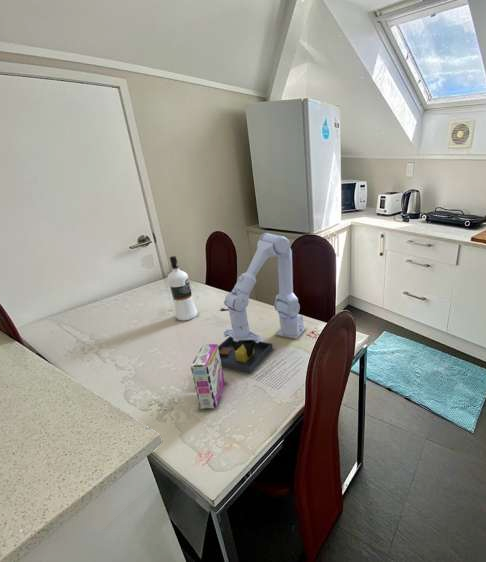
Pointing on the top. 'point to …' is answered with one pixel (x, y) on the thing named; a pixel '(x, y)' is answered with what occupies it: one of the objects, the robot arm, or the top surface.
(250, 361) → the dark grey tray
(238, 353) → the sponge
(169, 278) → the vodka
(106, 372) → the top surface
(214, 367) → the candy bar box
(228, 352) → the scrap
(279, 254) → the robot arm
